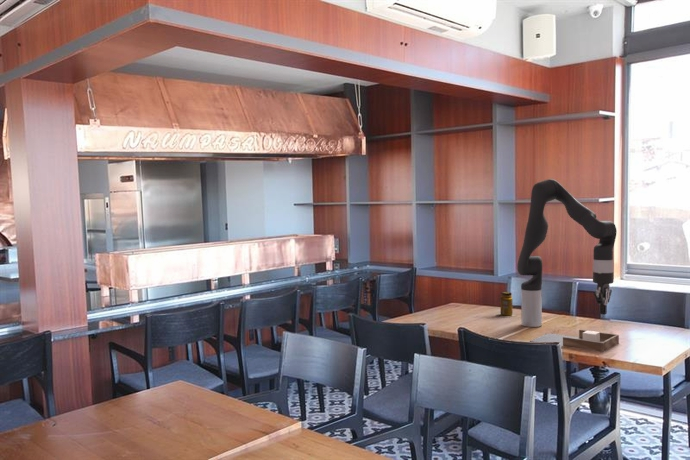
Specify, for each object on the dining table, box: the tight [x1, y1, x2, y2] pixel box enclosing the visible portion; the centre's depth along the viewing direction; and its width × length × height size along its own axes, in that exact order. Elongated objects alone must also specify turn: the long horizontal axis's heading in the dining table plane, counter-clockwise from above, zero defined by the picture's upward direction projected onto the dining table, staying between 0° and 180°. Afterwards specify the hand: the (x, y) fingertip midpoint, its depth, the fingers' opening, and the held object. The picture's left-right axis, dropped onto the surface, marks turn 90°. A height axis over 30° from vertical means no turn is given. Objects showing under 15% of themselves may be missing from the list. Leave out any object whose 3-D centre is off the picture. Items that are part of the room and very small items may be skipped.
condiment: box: [494, 291, 515, 318], centre depth 305 cm, size 7×8×12 cm
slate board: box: [529, 332, 619, 353], centre depth 243 cm, size 18×30×1 cm, turn 47°
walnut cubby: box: [562, 329, 620, 353], centre depth 238 cm, size 18×16×4 cm
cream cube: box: [583, 330, 601, 342], centre depth 238 cm, size 5×5×5 cm
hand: (603, 314), depth 234 cm, fingers closed
